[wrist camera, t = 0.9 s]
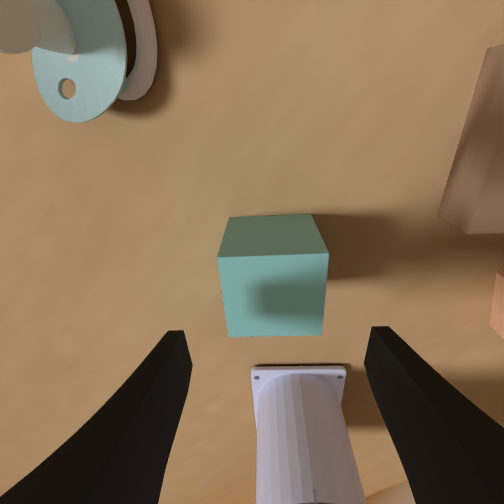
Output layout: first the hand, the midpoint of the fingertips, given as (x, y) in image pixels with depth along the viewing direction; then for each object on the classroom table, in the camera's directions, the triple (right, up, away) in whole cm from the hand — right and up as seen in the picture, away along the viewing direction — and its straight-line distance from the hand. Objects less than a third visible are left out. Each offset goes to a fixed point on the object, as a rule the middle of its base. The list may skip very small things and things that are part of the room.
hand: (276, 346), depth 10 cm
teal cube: (0, +4, +7) cm, 8 cm away
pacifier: (-8, +14, +2) cm, 17 cm away
